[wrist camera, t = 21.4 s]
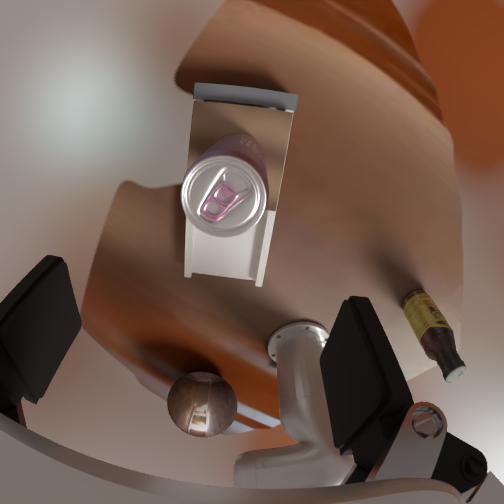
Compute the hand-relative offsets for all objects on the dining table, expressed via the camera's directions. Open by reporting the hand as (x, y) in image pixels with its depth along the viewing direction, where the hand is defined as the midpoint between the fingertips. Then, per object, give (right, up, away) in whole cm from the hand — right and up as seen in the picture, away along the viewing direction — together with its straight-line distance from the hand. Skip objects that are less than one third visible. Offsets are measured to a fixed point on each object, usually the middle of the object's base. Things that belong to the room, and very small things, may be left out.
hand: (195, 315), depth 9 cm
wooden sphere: (-9, -27, +52) cm, 59 cm away
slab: (0, +15, +27) cm, 31 cm away
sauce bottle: (+34, -7, +41) cm, 53 cm away
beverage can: (0, +13, +23) cm, 26 cm away
